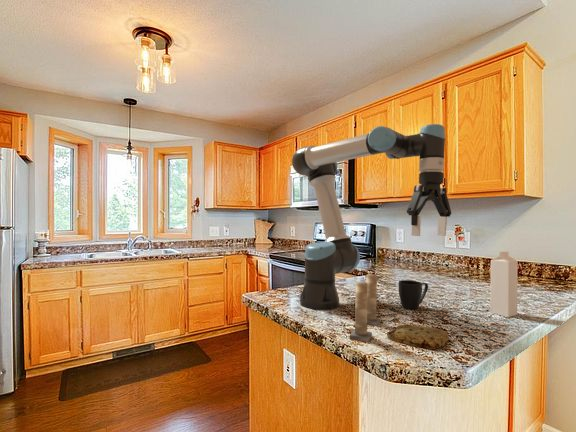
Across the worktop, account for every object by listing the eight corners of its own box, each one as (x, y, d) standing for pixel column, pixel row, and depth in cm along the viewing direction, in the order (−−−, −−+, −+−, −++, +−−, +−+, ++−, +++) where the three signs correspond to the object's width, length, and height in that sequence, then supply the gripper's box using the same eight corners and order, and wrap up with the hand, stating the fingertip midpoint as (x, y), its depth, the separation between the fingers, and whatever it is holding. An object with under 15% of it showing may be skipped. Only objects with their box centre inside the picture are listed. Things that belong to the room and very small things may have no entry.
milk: (517, 315, 109) (518, 252, 109) (508, 317, 106) (509, 252, 106) (498, 310, 114) (499, 250, 114) (489, 312, 111) (490, 251, 111)
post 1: (349, 338, 85) (350, 283, 85) (354, 332, 89) (354, 280, 89) (368, 342, 82) (368, 285, 83) (371, 335, 87) (372, 282, 87)
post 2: (361, 323, 97) (361, 275, 97) (364, 319, 102) (365, 273, 102) (377, 326, 95) (378, 277, 95) (380, 321, 100) (380, 274, 100)
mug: (435, 309, 114) (435, 283, 114) (407, 311, 111) (408, 285, 111) (419, 303, 122) (420, 279, 122) (393, 305, 119) (394, 280, 119)
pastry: (467, 351, 78) (467, 339, 78) (401, 353, 77) (401, 341, 77) (430, 327, 96) (430, 318, 96) (375, 328, 94) (376, 318, 94)
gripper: (416, 167, 94) (414, 236, 94) (464, 174, 107) (461, 236, 107) (396, 169, 101) (394, 235, 101) (443, 176, 113) (441, 234, 113)
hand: (429, 235), depth 104 cm, fingers open, 13 cm apart
